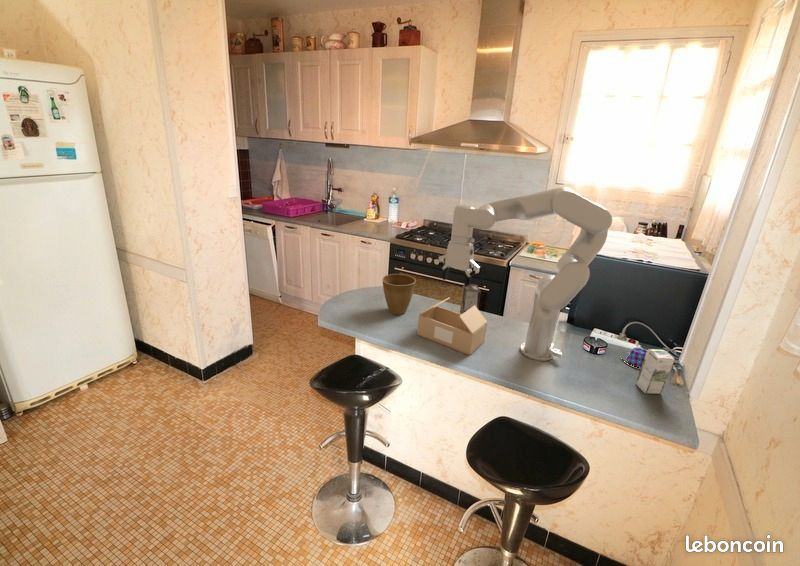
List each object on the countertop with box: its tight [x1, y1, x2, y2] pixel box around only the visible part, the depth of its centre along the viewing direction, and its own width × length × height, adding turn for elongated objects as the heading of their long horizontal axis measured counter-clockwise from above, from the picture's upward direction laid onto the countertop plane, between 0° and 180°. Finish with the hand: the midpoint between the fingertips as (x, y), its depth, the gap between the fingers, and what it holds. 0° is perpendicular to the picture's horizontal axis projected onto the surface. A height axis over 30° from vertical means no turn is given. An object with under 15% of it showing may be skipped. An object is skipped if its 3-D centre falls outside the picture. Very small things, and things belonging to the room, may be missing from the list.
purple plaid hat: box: [620, 347, 647, 370], centre depth 149 cm, size 12×12×5 cm
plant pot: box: [381, 273, 417, 316], centre depth 176 cm, size 15×15×16 cm
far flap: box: [418, 297, 451, 316], centre depth 158 cm, size 8×13×1 cm
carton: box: [416, 305, 488, 356], centre depth 156 cm, size 24×13×9 cm, turn 54°
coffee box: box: [459, 283, 482, 314], centre depth 171 cm, size 9×6×16 cm
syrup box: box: [635, 348, 675, 395], centre depth 131 cm, size 6×6×14 cm
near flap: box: [459, 305, 488, 334], centre depth 149 cm, size 8×13×1 cm
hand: (456, 282), depth 150 cm, fingers open, 9 cm apart
